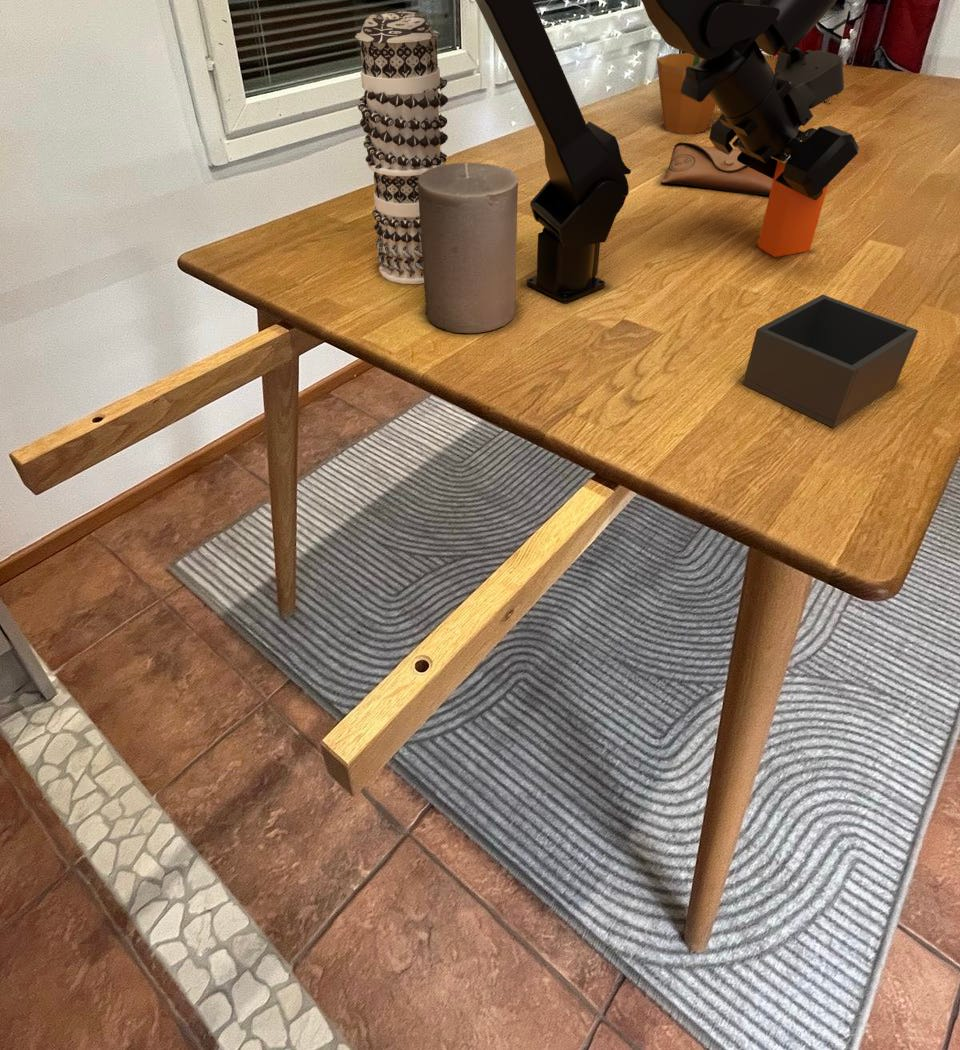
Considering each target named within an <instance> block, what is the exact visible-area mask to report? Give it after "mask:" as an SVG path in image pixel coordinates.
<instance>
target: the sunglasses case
mask: <svg viewBox="0 0 960 1050" xmlns="http://www.w3.org/2000/svg"><path fill="white" fill-rule="evenodd" d="M672 149H673V150H672V152H671V157H670V161H669V164H668V167H667V171H666V173H665V174H664V176H663V178H662V179H661V182H660V183H662V184H670V185H671V184H673V185H682V186H683V185H684V186H690V187H691V186H692V187H695V188H696V187H697V188H704V189H712V190H718V191H725V192H732V193H738V194H746V195H760V196H770V192H771V187H772V183H773V179H772V178H770V177H768V176H766V175H764V174H762V173H760V172H758V171H756V170H754V169H752V168H750V167H748V166H746V165H744V164H742V163H740V162H738V160H737V157H738V155H739V154H740V153H741V151H740V150H739V149H737V148H733V150H732V152H731V153H730V154H729V155H727V154H725V153H723V152H721V151H719V150H717V149H716V148H715V146H705V145H700V144H697V143H692V142H685V141H684V142H683V141H682V142H677V143H676V144H675V145H674V147H673V148H672Z"/></svg>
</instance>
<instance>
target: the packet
mask: <svg viewBox="0 0 960 1050" xmlns="http://www.w3.org/2000/svg"><path fill="white" fill-rule="evenodd" d="M785 164H786V163H785ZM785 164H783V163H781V162H779V161H778V162H777V166H776V170H775V175H774V179H773V183H772V187H771V192H770V195H768V199H767V205H766V209H765V212H764V217H763V220H762V221H763V222H762V226H761V230H760V234H759V239H758V243H757V248H759V249H761V250H762V251H764V252H765V253H767V254H769V255H770V256H772V257H773V258H778V257H784V256H791V255H795V254H802V253H807V252H810V251H811V247H812V244H813V240H814V237H815V233H816V230H817V227H818V222H819V218H820V215H821V211H822V208H823V205H824V202H825V198H826V195H827V191H828V188H829V184H828V185H827V186H826V187H825V188H824V189H823V194H822V195H821V196H820V197H819V198H818V199H817V200H813V199H811V198H809V197H807V196H805V195H803V194H801V193H799V192H797V191H794V190H792V189H790V188H788V187H786V186H784V185H782V184H780V183H779V182H777V181H775V180H776V179H777V178H778V177H779V175H780V174H781V173H782V172H783V171H784V168H785Z"/></svg>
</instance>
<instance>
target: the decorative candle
mask: <svg viewBox="0 0 960 1050" xmlns="http://www.w3.org/2000/svg"><path fill="white" fill-rule="evenodd" d="M439 34H440V32H439V31H437V30H435V29H433V28H432V25H431V24H430V22H429V20H428V19H427V18H426V16H424V15H423V14H421V13H419V12H413V11H385V12H378V13H374V14H370V15H369V16H368V17H367V18H366V19H365V20H364V23H363V25H362V27H361V30H360V32H358V33H356V34H355V35H354V37H355V38H356V40H358V42H359V44H360V59H361V64H362V69H361V70H360V78H361V81H360V82H361V88H362V89H363V90H364V94H363V95H362V96H361V97H360V98H359V102H358V104H357V108H358V110H359V112H361V113H360V114H361V115H362V116H361V117H362V118H361V119H360V120H359V125H360V127H362V131H363V132H364V133H366V135H365V137H364V139H365V140H364V141H363V147H364V148H365V149H366V152H367V155H366V157H365V162H366V163H367V166H368V168H369V169H370V171H372V172H373V183H374V188H375V189H374V191H373V201H374V209H373V210H372V216H373V218H374V220H375V221H376V223H375V224H374V226H373V229H374V230H375V234H376V235H378V236H377V238H376V240H375V247H376V249H377V251H378V252H377V254H376V259H377V261H378V262H379V264H380V265H379V268H378V272H379V273H380V275H381V277H382V278H383V279H386V280H388V281H389V282H393V283H397V284H401V285H420V284H424V272H423V270H424V268H423V256H422V247H421V226H420V214H419V194H418V179H419V176H420V175H421V174H422V173H423V172H426V171H427V170H430V169H431V168H435V167H438V166H442V165H447V158H448V155H447V154H445V153H444V152H442V150H441V147H442V146H443V144H446V142H447V141H448V140H449V136H448V134H446V133H445V132H443V131H442V129H443V128H445V127H446V126H447V124H448V119H447V118H446V116H443V115H442V113H441V112H440V111H439V108H440V109H442V107H444V106H445V105H447V103H448V102H449V98H448V96H446V94H443V92H442V90H443V89H444V88H446V87H447V85H448V80H447V79H444V78H442V77H441V70H440V69H441V68H440V67H439V63H438V61H439V60H438V39H437V38H438V36H439ZM439 91H440V92H439ZM439 113H440V114H439Z"/></svg>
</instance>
